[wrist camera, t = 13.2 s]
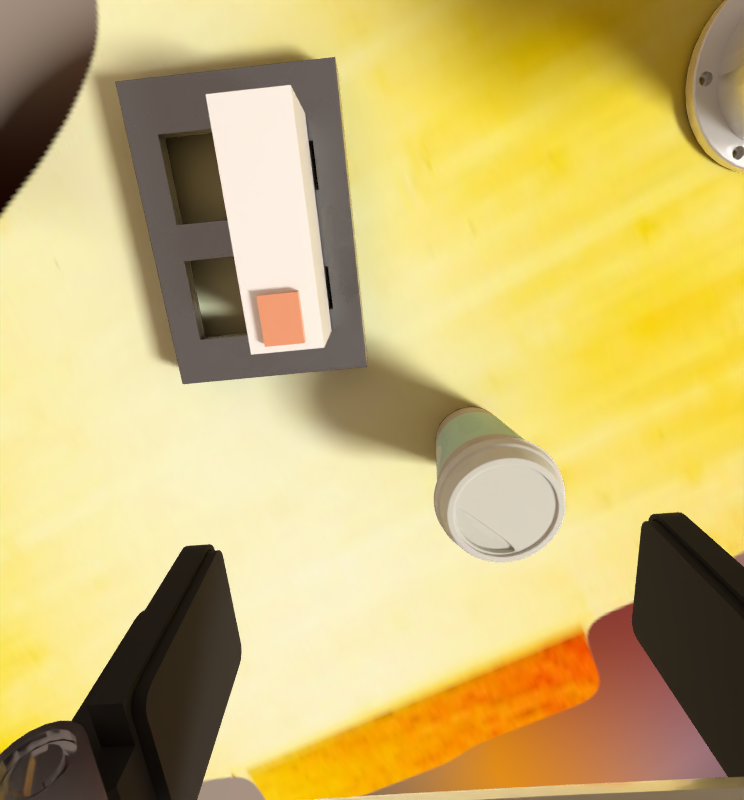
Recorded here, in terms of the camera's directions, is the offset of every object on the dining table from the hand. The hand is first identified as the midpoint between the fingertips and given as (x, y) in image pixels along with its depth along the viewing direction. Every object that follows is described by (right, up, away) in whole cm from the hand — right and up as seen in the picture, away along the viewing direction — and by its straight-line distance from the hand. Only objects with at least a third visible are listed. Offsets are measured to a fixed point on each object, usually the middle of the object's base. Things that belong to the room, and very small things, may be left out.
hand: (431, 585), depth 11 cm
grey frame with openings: (-10, +16, +26) cm, 32 cm away
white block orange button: (-7, +17, +26) cm, 32 cm away
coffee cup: (+7, +1, +31) cm, 32 cm away
